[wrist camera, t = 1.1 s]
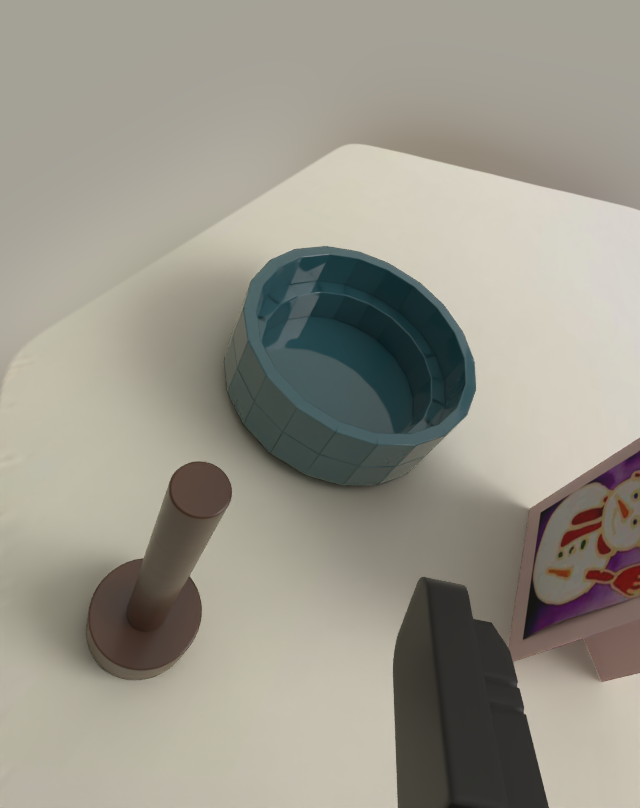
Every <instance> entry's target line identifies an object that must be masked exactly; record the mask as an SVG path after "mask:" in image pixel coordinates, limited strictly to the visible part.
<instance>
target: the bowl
mask: <svg viewBox="0 0 640 808" xmlns="http://www.w3.org/2000/svg"><path fill="white" fill-rule="evenodd" d="M224 366H225V374H226V383H227V391H228V394H229V396H230V398H231V400H232V402H233V404H234V406H235V408H236V410H237V412H238V414H239V417H240V419H241V421H242V423H243V424H244V425H245V427H246V428H247V429H248V430H249V431H250V432H251V433H252V434H253V435H254V436H255V437H256V438H257V439H258V441H259V442H260V443H261V444H262V445H263V446H264V447H265V448H266V449H267V450H268V451H269V452H270V453H271V454H272V455H274V456H276V457H277V458H279V459H280V460H282V461H284V462H285V463H287V464H288V465H290V466H292V467H293V468H295V469H297V470H298V471H300V472H301V473H303V474H305V475H308V476H311V477H315V478H318V479H322V480H325V481H328V482H332V483H335V484H339V485H379V484H382V483H384V482H387V481H390V480H392V479H395V478H397V477H400V476H403V475H405V474H407V473H408V472H409V471H410V470H411V469H413V468H414V467H415V466H416V465H417V464H418V463H419V462H420V461H421V460H422V459H423V458H424V457H425V456H426V455H427V454H428V453H429V452H430V451H431V450H432V449H433V448H434V447H435V446H436V445H437V444H438V443H439V442H440V441H441V440H442V439H443V438H444V437H445V436H446V435H448V434H449V433H450V432H451V431H452V430H453V429H454V428H455V427H456V426H457V425H458V424H459V423H460V422H461V421H462V420H463V419H464V418H465V417H466V415H467V414H468V411H469V408H470V405H471V403H472V400H473V397H474V394H475V391H476V379H475V362H474V359H473V356H472V354H471V351H470V348H469V346H468V343H467V341H466V338H465V336H464V333H463V331H462V330H461V328H460V327H459V325H458V324H457V323H456V321H455V320H454V318H453V317H452V316H451V314H450V313H449V311H448V310H447V309H446V307H445V306H444V304H442V303H441V302H440V301H439V300H438V299H437V298H436V297H435V296H434V295H433V294H432V293H431V292H430V291H428V290H427V289H426V288H425V287H424V286H423V285H422V284H421V283H420V282H418V281H417V280H415V279H413V278H412V277H410V276H409V275H407V274H405V273H404V272H402V271H401V270H399V269H397V268H396V267H394V266H393V265H391V264H389V263H387V262H385V261H382V260H379V259H377V258H374V257H372V256H369V255H367V254H364V253H361V252H359V251H353V250H347V249H341V248H335V247H328V246H322V247H311V248H301V249H294V250H292V251H289V252H287V253H285V254H283V255H280V256H278V257H276V258H274V259H271V260H270V261H269V262H268V263H267V264H266V265H265V266H264V267H263V268H262V269H261V270H260V272H259V273H258V274H257V275H256V276H255V277H254V278H253V279H252V280H251V282H250V285H249V287H248V290H247V293H246V296H245V298H244V301H243V304H242V307H241V310H240V312H239V315H238V318H237V320H236V323H235V326H234V329H233V331H232V334H231V338H230V341H229V345H228V348H227V351H226V355H225V358H224Z"/></svg>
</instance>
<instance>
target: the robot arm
mask: <svg viewBox="0 0 640 808" xmlns="http://www.w3.org/2000/svg"><path fill="white" fill-rule="evenodd" d="M517 683H518V681H517V677H516V673H515V669H514V665H513V661H512V657H511V653H510V650H509V649H508V647H507V646H506V644H505V642H504V641H503V639H502V638H501V636H500V635H499V633H498V632H497V630H496V629H495V627H494V625H493V624H492V623H490V622H485V621H480V620H475V619H473V616H472V611H471V606H470V600H469V595H468V591H467V589H466V587H465V586H464V585H461V584H456V583H451V582H446V581H441V580H436V579H431V578H426V577H421V578H420V579H419V581H418V583H417V585H416V588H415V591H414V593H413V596H412V599H411V601H410V604H409V607H408V609H407V612H406V615H405V617H404V620H403V623H402V625H401V628H400V631H399V633H398V636H397V640H396V645H395V651H394V659H393V686H394V713H395V740H396V767H397V794H398V808H549V807H548V803H547V799H546V795H545V791H544V786H543V782H542V778H541V774H540V770H539V766H538V762H537V758H536V754H535V750H534V746H533V742H532V738H531V734H530V730H529V726H528V722H527V717H526V715H525V714H524V712H523V711H524V705H523V701H522V697H521V693H520V689H519V688H517Z"/></svg>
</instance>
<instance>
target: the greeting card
mask: <svg viewBox="0 0 640 808" xmlns="http://www.w3.org/2000/svg"><path fill="white" fill-rule="evenodd" d="M583 638H584V640H585V643H586V645H587V648H588V650H589V653H590V655H591V657H592V660H593V662H594V665H595V667H596V669H597V672H598V674H599V677H600V679H601V682H604V681H608V680H612V679H616V678H620V677H625V676H629V675H633V674H637V673H640V438H639V439H637V440H635V441H634V442H632V443H631V444H629V445H628V446H626V447H625V448H623V449H622V450H620V451H618V452H617V453H615V454H614V455H612V456H611V457H609V458H608V459H606V460H605V461H603V462H601V463H600V464H598V465H597V466H595V467H594V468H592V469H591V470H589V471H587V472H586V473H584V474H583V475H581V476H580V477H578V478H577V479H575V480H574V481H572V482H570V483H569V484H567V485H566V486H564V487H563V488H561V489H560V490H558V491H556V492H555V493H553V494H552V495H550V496H549V497H547V498H546V499H544V500H543V501H541V502H539V503H538V504H536V505H535V506H533V507H532V508H530V511H529V518H528V524H527V530H526V537H525V543H524V550H523V556H522V562H521V569H520V575H519V582H518V588H517V594H516V601H515V607H514V614H513V620H512V627H511V633H510V639H509V646H508V649H509V650H510V653H511V657H512V661H513V662H514V661H517V660H520V659H523V658H526V657H529V656H532V655H535V654H538V653H541V652H544V651H547V650H550V649H553V648H556V647H559V646H562V645H565V644H568V643H571V642H574V641H577V640H580V639H583Z"/></svg>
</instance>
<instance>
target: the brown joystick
mask: <svg viewBox="0 0 640 808" xmlns="http://www.w3.org/2000/svg"><path fill="white" fill-rule="evenodd" d="M231 497H232V487H231V484H230V481H229V479H228V477H227V476H226V474H225V473H224V472H223V471H222V470H221V469H220V468H218V467H217V466H215V465H213V464H210V463H207V462H191V463H188V464H185V465H183V466H182V467H180V468H179V469H178V470H177V471H176V472H175V473H174V474H173V476H172V477H171V480H170V482H169V485H168V488H167V491H166V494H165V497H164V500H163V503H162V506H161V509H160V512H159V515H158V518H157V521H156V524H155V527H154V530H153V533H152V536H151V538H150V541H149V544H148V547H147V550H146V553H145V556H144V559H137V560H133V561H130V562H127V563H125V564H123V565H121V566H119V567H117V568H116V569H114V570H113V571H112V572H110V573H109V574H108V575H107V576H106V577H105V578H104V579H103V580H102V581H101V583H100V584H99V585H98V587H97V589H96V590H95V592H94V594H93V597H92V599H91V603H90V606H89V612H88V619H87V625H86V636H87V642H88V646H89V649H90V651H91V654H92V655H93V657H94V659H95V660H96V661H97V663H98V664H99V665H100V666H101V667H102V668H103V669H105V670H106V671H107V672H109V673H111V674H112V675H115V676H117V677H120V678H123V679H129V680H142V679H148V678H151V677H154V676H157V675H159V674H161V673H163V672H165V671H166V670H168V669H169V668H170V667H172V666H173V665H174V664H175V663H176V662H177V661H178V660H179V659H180V658H181V656H182V655H183V654H184V652H185V651H186V650H187V649H188V647H189V646H190V645H191V643H192V642H193V640H194V638H195V636H196V634H197V632H198V629H199V626H200V622H201V615H202V606H201V599H200V595H199V592H198V589H197V587H196V586H195V584H194V582H193V581H192V579H191V578H190V577H189V576H190V574H191V572H192V570H193V568H194V567H195V565H196V563H197V561H198V559H199V557H200V556H201V554H202V552H203V550H204V548H205V547H206V545H207V543H208V541H209V539H210V538H211V536H212V534H213V532H214V530H215V529H216V527H217V525H218V523H219V521H220V520H221V518H222V516H223V514H224V512H225V511H226V509H227V507H228V505H229V503H230V501H231Z"/></svg>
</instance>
